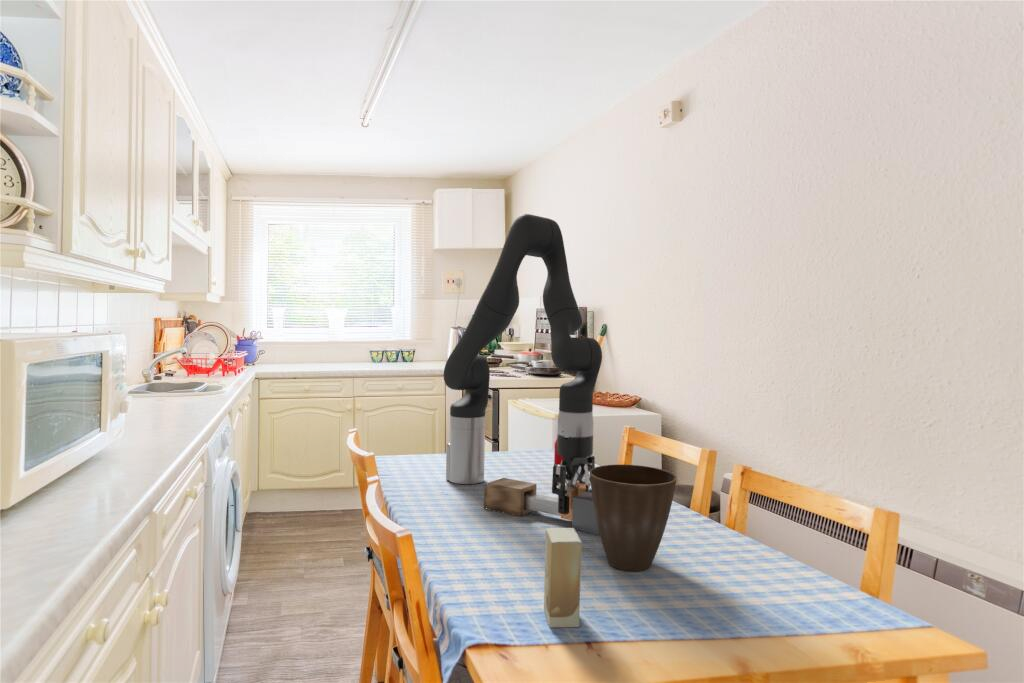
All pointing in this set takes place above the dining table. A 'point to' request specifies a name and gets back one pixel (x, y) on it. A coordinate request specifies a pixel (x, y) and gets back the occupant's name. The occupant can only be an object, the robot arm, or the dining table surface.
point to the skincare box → (562, 577)
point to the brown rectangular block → (507, 496)
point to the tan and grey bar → (552, 501)
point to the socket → (584, 513)
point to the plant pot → (631, 512)
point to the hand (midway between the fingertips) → (573, 509)
